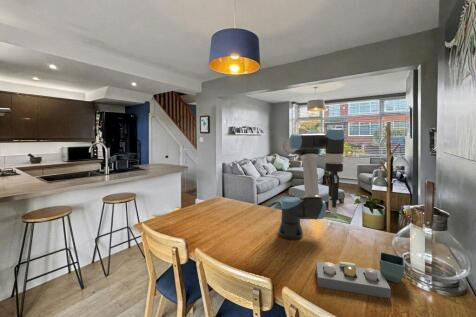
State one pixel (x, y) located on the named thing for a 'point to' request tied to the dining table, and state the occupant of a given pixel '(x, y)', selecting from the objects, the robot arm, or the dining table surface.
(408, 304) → the dining table surface
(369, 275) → the white rounded dome
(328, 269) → the white rounded piece
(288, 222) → the robot arm
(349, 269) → the brass button
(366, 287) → the console
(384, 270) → the flower pot
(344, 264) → the block
